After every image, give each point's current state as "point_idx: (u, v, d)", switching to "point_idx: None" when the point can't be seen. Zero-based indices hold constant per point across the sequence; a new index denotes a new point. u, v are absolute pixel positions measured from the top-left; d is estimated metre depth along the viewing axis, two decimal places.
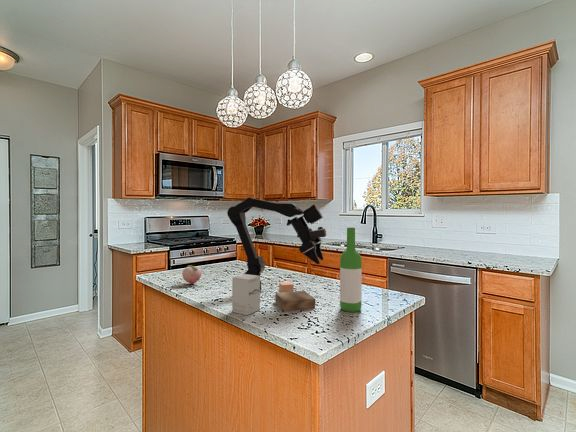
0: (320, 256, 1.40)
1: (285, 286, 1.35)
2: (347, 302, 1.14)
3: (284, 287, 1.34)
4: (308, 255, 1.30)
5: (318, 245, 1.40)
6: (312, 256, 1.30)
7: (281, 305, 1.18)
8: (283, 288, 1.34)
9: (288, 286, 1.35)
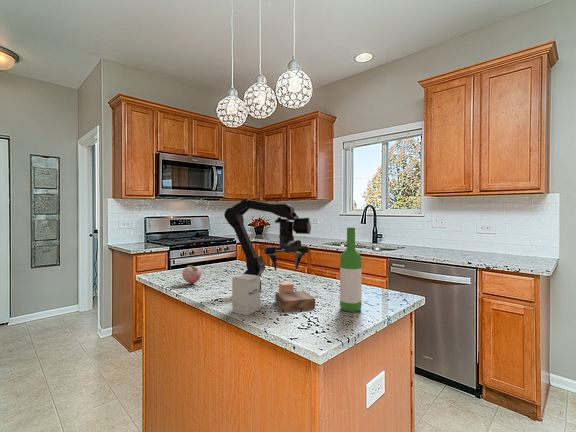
0: (296, 265, 1.38)
1: (285, 286, 1.35)
2: (347, 302, 1.14)
3: (284, 287, 1.34)
4: (271, 257, 1.37)
5: (298, 255, 1.37)
6: (272, 261, 1.36)
7: (281, 305, 1.18)
8: (283, 288, 1.34)
9: (288, 286, 1.35)
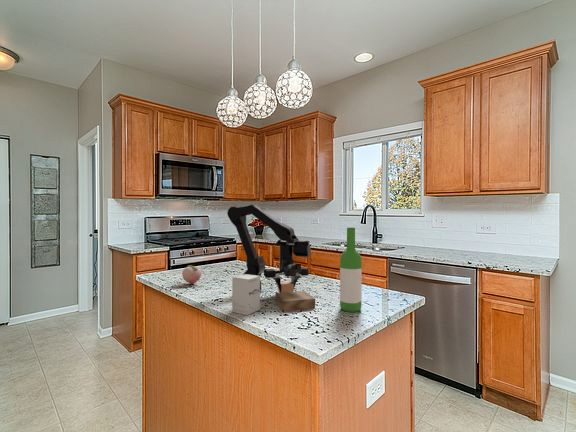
0: None
1: (285, 286, 1.35)
2: (347, 302, 1.14)
3: (284, 287, 1.34)
4: (275, 280, 1.37)
5: (294, 278, 1.37)
6: (277, 283, 1.37)
7: (281, 305, 1.18)
8: (283, 288, 1.34)
9: (288, 286, 1.35)
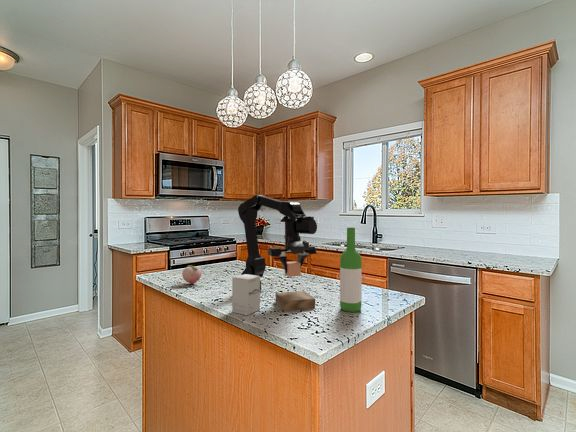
0: None
1: (292, 265, 1.25)
2: (347, 302, 1.14)
3: (290, 266, 1.25)
4: (280, 259, 1.28)
5: (301, 256, 1.27)
6: (282, 263, 1.27)
7: (281, 305, 1.18)
8: (289, 267, 1.25)
9: (295, 265, 1.25)
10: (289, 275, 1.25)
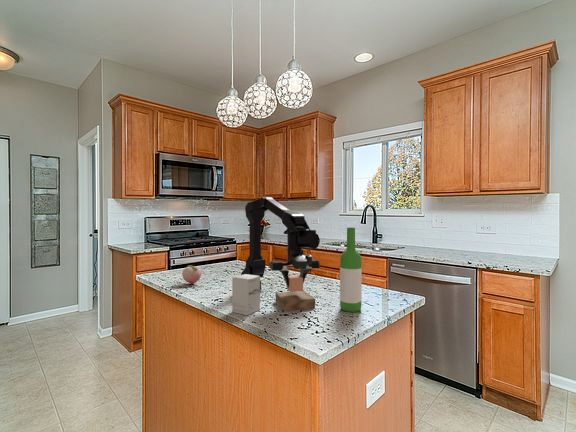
0: None
1: (294, 280, 1.20)
2: (347, 302, 1.14)
3: (292, 281, 1.20)
4: (282, 273, 1.23)
5: (303, 271, 1.22)
6: (284, 277, 1.22)
7: (281, 305, 1.18)
8: (291, 282, 1.20)
9: (297, 280, 1.20)
10: (291, 290, 1.20)
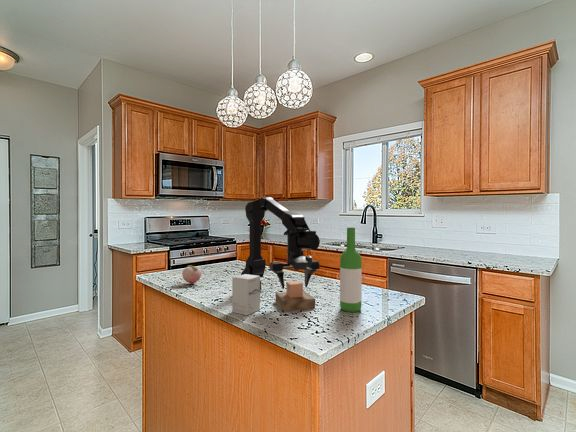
0: (305, 282, 1.24)
1: (293, 286, 1.20)
2: (347, 302, 1.14)
3: (292, 287, 1.20)
4: (277, 274, 1.22)
5: (308, 271, 1.22)
6: (279, 278, 1.21)
7: (281, 305, 1.18)
8: (291, 288, 1.20)
9: (297, 286, 1.20)
10: (291, 296, 1.20)
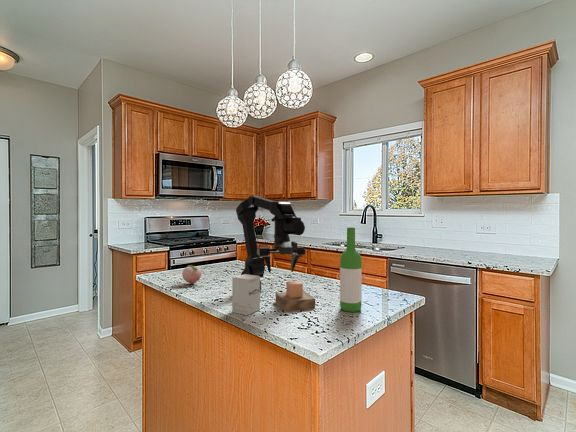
0: (291, 267, 1.28)
1: (293, 286, 1.20)
2: (347, 302, 1.14)
3: (292, 287, 1.20)
4: (264, 259, 1.27)
5: (294, 257, 1.27)
6: (266, 263, 1.26)
7: (281, 305, 1.18)
8: (291, 288, 1.20)
9: (297, 286, 1.20)
10: (290, 296, 1.20)
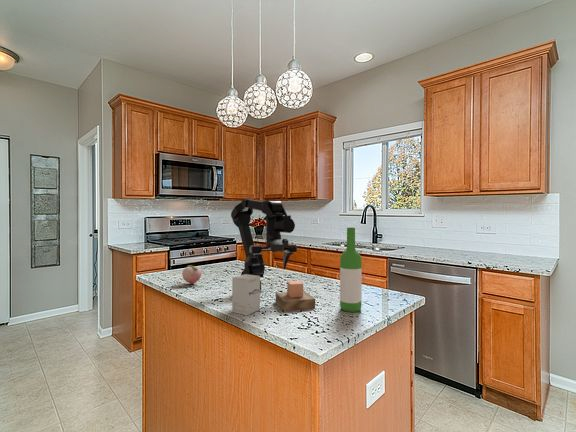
0: (283, 265, 1.31)
1: (294, 285, 1.20)
2: (347, 302, 1.14)
3: (293, 287, 1.20)
4: (257, 257, 1.30)
5: (286, 254, 1.30)
6: (259, 260, 1.29)
7: (281, 305, 1.18)
8: (291, 288, 1.20)
9: (297, 285, 1.21)
10: (291, 296, 1.20)
